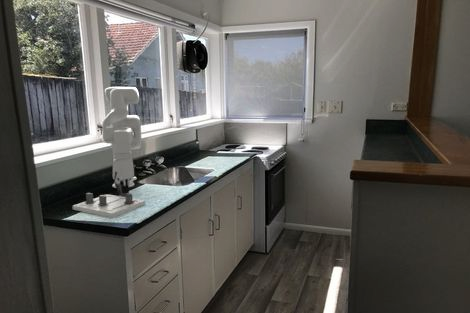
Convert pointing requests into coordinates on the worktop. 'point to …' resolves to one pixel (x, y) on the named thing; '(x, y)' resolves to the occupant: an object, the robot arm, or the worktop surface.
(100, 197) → the breaker
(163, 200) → the worktop surface
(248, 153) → the worktop surface
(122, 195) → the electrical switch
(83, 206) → the white base plate
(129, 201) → the cylinder
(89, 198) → the breaker
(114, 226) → the worktop surface
